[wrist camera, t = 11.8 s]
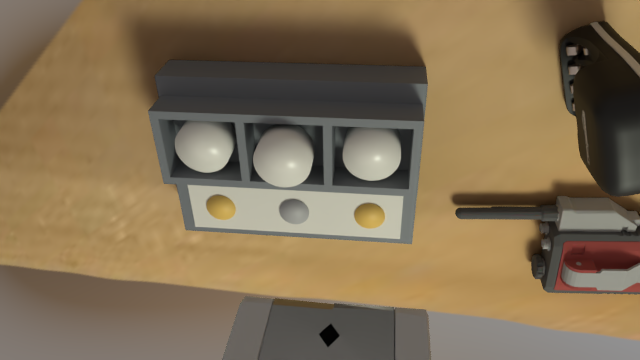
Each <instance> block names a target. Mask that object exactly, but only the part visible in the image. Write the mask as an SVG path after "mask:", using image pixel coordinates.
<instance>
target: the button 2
mask: <svg viewBox="0 0 640 360" xmlns="http://www.w3.org/2000/svg"><path fill="white" fill-rule="evenodd" d="M400 161H401V138H400V134H399V132H398V130H397V129H394V128H369V127H350V128H349V129H348V131H347V133H346V136H345V142H344V148H343V162H344V164H345V166H346V168H347V169H348V170H349V172H350V173H352V174H353V175H354V176H356V177H358V178H360V179H363V180H369V181H376V180H381V179H384V178H387V177H388V176H390V175H391V174H393V173H394V172H395V171H396V169H397V168H398V166H399V164H400Z"/></svg>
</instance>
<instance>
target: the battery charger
mask: <svg viewBox="0 0 640 360" xmlns="http://www.w3.org/2000/svg"><path fill="white" fill-rule="evenodd" d="M559 51H560V61H561V70H562V79H563V87H564V96H565V103H566V107H567V109H568V111H569V112H570V113H571V114H572V115H574V116H576V119H577V127H578V144H579V151H580V156H581V158H582V160H583V162H584V164H585V165H586V167H587V169H588V170H589V172H590V173H591V175H592V176H593V178H594V179H595V181H596V182H597V184H598V185H599V186H600V188H601V189H602V190H603V191H604V192H606V193H608V194H609V195H612V196H617V197H620V196H629V195H634V194H640V53H639V52H638V51H637V50H636V49H634V48H633V47H632V46H631V45H630V44H629V43H628V42H626V41H625V40H624V39H623V38H622V37H621V36H620V35H619V34H618V33H617V32H616V31H615V30H614V29H613V28H612V27H611V26H610V25H609V24H608V23H607V22H605V21H603V22H593V23H590V24H589V25H587V26H583V27H580V28H578V29H576V30H573V31H571V32H570V33H568V34H567V35H565V36H564V37H563V38H562V40H561V42H560V50H559Z"/></svg>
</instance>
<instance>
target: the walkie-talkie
mask: <svg viewBox="0 0 640 360" xmlns="http://www.w3.org/2000/svg"><path fill="white" fill-rule="evenodd" d="M455 214H456V216H457V217H458V218H459V219H540V220H541V221H546V222H545V223H540V231H541V233H545V237H544V239H542V241H541V246H542V247H543V248H542V254H541V256H540V255H539V254H535V255H533V257H532V261H531V266H532V274H533V277H534V278H535V279H541V283H542V286H543V289H544V290H545V291H547V292H551V293H594V294H602V293H607V294H610V293H614V294H640V215H638V213H637V211H627V210H626V209H624V208H623V207H621V206H620V205H618V204H617V203H615V202H614V201H612V200H611V199H609V198H569V197H567V196H557V200H556V205H541V206H540V207H493V206H492V207H491V208H458V209H457V210H456V213H455Z"/></svg>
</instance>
